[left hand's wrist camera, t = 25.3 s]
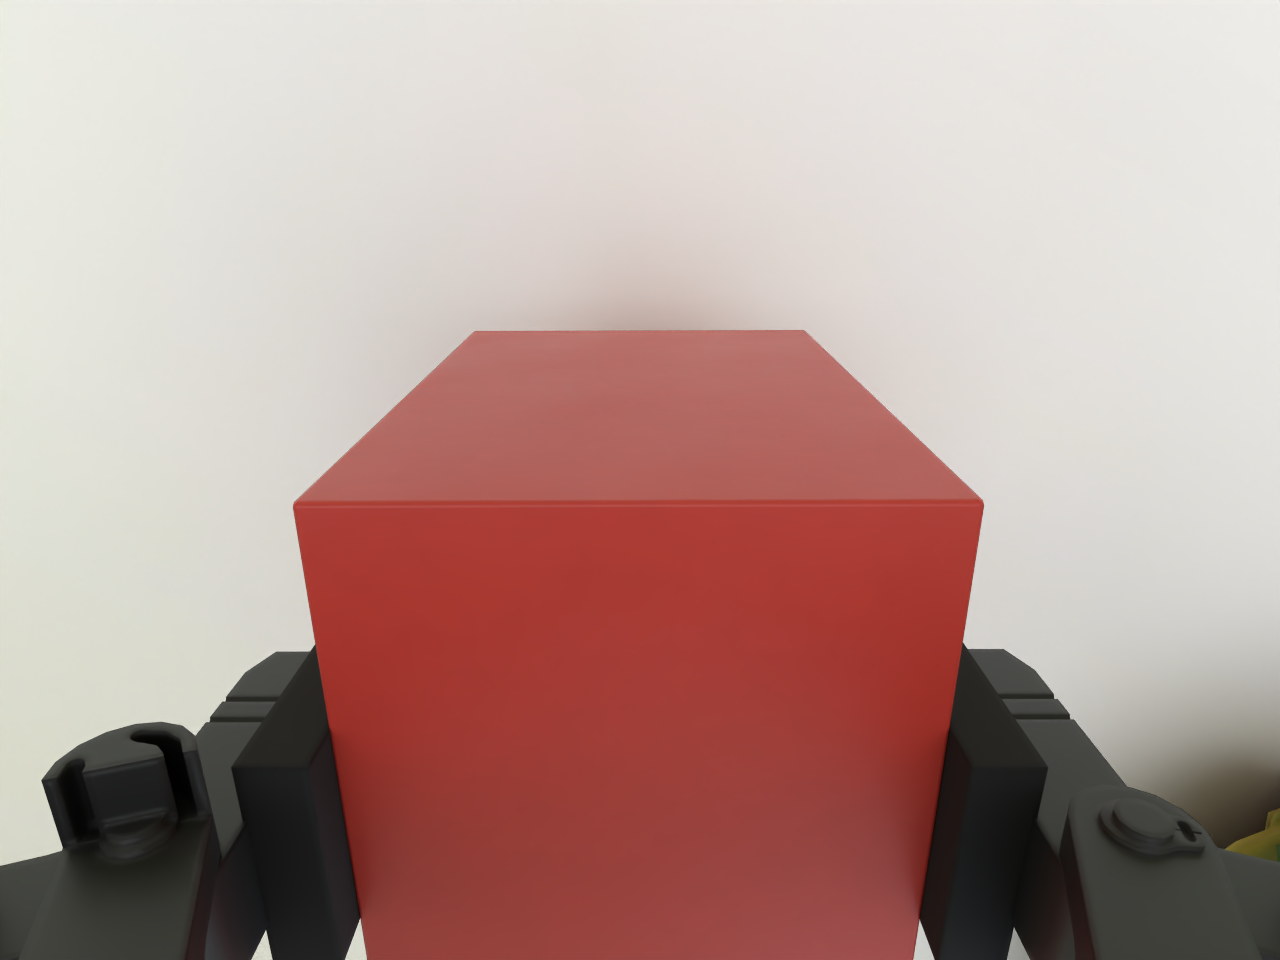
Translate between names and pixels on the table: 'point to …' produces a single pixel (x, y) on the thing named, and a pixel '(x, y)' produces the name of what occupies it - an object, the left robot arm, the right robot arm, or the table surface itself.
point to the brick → (639, 652)
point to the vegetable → (1262, 840)
